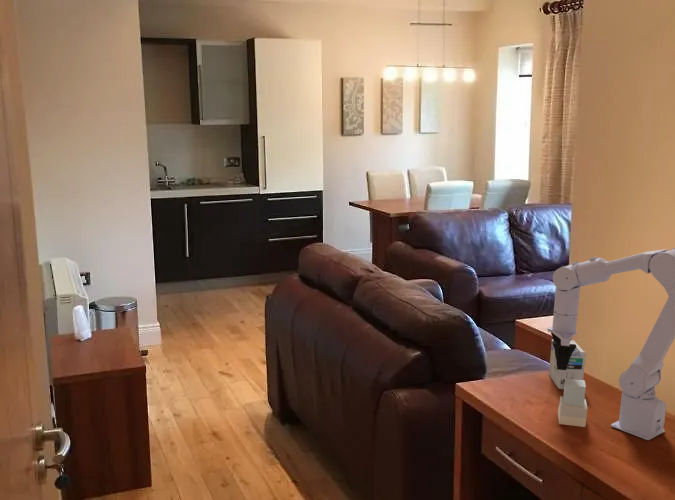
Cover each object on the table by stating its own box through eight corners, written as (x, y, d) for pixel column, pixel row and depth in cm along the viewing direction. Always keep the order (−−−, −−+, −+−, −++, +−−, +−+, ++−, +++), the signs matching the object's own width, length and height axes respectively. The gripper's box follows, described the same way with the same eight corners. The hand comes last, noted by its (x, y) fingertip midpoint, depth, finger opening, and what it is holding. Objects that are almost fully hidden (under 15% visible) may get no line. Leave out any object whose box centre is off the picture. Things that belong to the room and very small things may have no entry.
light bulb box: (583, 390, 198) (587, 352, 196) (557, 389, 198) (561, 351, 196) (571, 375, 209) (575, 339, 207) (547, 375, 209) (550, 338, 207)
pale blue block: (582, 399, 180) (584, 380, 179) (583, 407, 176) (585, 387, 175) (563, 397, 181) (565, 378, 180) (564, 404, 177) (565, 384, 176)
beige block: (584, 408, 181) (585, 399, 180) (586, 418, 175) (587, 408, 175) (559, 405, 182) (560, 396, 182) (560, 415, 177) (560, 405, 176)
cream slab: (583, 418, 182) (584, 408, 181) (585, 428, 176) (586, 418, 175) (557, 415, 183) (558, 405, 182) (559, 425, 177) (559, 415, 177)
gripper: (547, 303, 192) (543, 353, 195) (550, 319, 179) (545, 372, 181) (576, 306, 191) (571, 356, 194) (580, 322, 177) (575, 375, 180)
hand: (560, 364), depth 187 cm, fingers open, 7 cm apart
